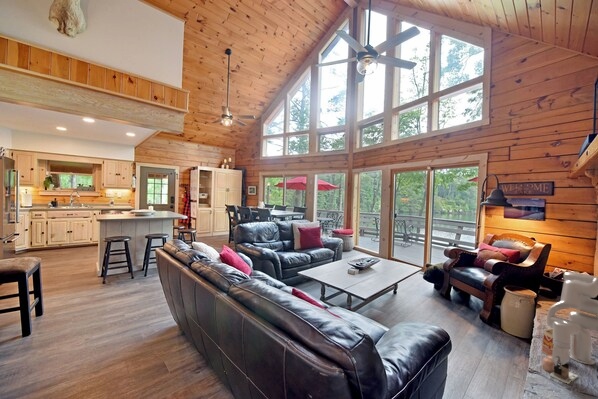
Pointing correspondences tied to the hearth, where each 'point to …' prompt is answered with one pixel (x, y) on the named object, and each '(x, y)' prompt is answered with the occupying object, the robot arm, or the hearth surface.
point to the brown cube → (563, 373)
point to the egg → (548, 365)
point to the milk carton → (548, 342)
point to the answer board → (568, 380)
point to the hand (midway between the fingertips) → (561, 371)
